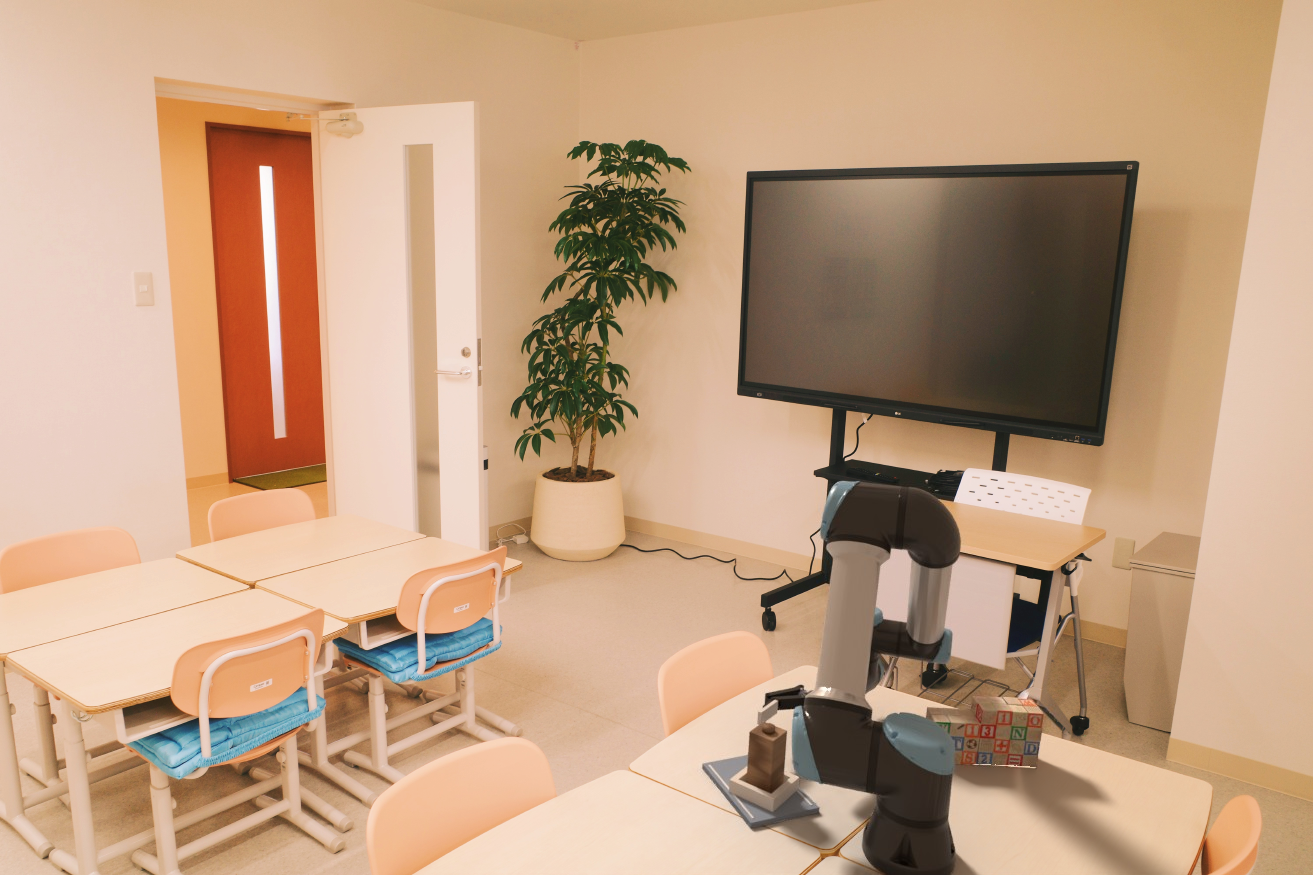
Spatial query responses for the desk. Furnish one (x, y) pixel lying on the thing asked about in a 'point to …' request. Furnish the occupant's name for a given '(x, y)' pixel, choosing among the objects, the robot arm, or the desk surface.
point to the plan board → (749, 811)
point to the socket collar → (760, 796)
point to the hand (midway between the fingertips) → (789, 730)
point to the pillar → (766, 757)
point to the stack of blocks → (993, 730)
